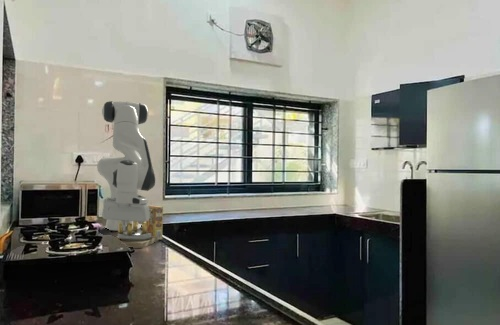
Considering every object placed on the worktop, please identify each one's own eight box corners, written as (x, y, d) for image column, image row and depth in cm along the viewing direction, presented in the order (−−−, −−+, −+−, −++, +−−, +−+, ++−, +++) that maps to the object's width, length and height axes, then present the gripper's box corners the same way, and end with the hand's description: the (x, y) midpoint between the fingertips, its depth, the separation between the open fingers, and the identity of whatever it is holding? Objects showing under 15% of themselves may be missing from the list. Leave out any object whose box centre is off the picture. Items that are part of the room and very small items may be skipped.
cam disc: (113, 240, 162) (114, 223, 162) (122, 235, 176) (123, 219, 176) (147, 241, 163) (148, 224, 163) (153, 235, 177) (154, 220, 177)
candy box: (162, 239, 181) (163, 206, 181) (154, 240, 178) (155, 207, 178) (153, 237, 187) (154, 205, 187) (145, 237, 184) (146, 205, 184)
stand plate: (122, 239, 179) (122, 234, 179) (158, 240, 177) (158, 235, 177) (103, 246, 161) (103, 240, 161) (142, 248, 159) (142, 242, 159)
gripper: (99, 197, 163) (98, 230, 163) (145, 200, 160) (144, 233, 160) (107, 196, 170) (106, 228, 170) (151, 199, 166) (150, 231, 166)
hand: (125, 231), depth 165 cm, fingers closed
